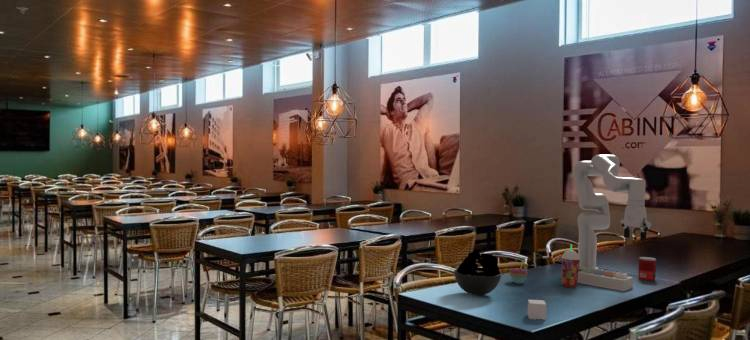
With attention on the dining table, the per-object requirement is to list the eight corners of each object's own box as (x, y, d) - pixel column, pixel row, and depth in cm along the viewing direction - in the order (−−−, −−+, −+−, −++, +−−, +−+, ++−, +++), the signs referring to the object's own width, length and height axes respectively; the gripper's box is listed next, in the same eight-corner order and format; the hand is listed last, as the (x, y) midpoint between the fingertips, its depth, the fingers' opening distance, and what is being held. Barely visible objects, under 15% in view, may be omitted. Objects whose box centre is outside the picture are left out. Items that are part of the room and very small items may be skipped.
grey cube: (545, 320, 218) (546, 304, 218) (529, 319, 219) (529, 303, 219) (543, 316, 224) (544, 300, 224) (527, 314, 225) (528, 299, 225)
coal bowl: (490, 303, 241) (492, 257, 240) (445, 295, 251) (447, 251, 251) (506, 294, 258) (508, 251, 257) (464, 287, 268) (466, 246, 268)
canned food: (657, 281, 298) (658, 259, 298) (640, 280, 299) (641, 258, 299) (653, 278, 305) (654, 257, 305) (636, 277, 307) (637, 256, 307)
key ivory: (615, 281, 279) (615, 272, 279) (618, 280, 282) (619, 271, 282) (623, 283, 276) (624, 274, 276) (627, 281, 279) (627, 273, 279)
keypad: (576, 282, 289) (576, 272, 288) (585, 279, 296) (586, 269, 296) (623, 291, 273) (624, 280, 272) (632, 287, 281) (633, 277, 280)
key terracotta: (604, 279, 283) (604, 270, 282) (607, 278, 285) (607, 270, 285) (612, 281, 280) (612, 272, 280) (615, 280, 283) (616, 271, 283)
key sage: (582, 275, 290) (582, 267, 290) (585, 274, 293) (586, 266, 293) (590, 277, 287) (590, 268, 287) (593, 276, 290) (594, 267, 290)
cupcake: (528, 282, 285) (529, 257, 285) (525, 285, 278) (526, 260, 277) (510, 279, 289) (511, 255, 289) (507, 283, 281) (508, 258, 281)
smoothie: (578, 285, 281) (580, 243, 281) (578, 289, 274) (580, 246, 273) (560, 283, 284) (562, 242, 284) (560, 287, 276) (561, 244, 276)
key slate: (593, 277, 286) (593, 269, 286) (596, 276, 289) (596, 268, 289) (601, 279, 284) (601, 270, 283) (604, 278, 286) (604, 269, 286)
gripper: (616, 202, 291) (615, 236, 292) (645, 205, 276) (644, 241, 276) (627, 202, 295) (626, 236, 295) (656, 205, 279) (655, 241, 279)
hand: (634, 238), depth 285 cm, fingers open, 9 cm apart
